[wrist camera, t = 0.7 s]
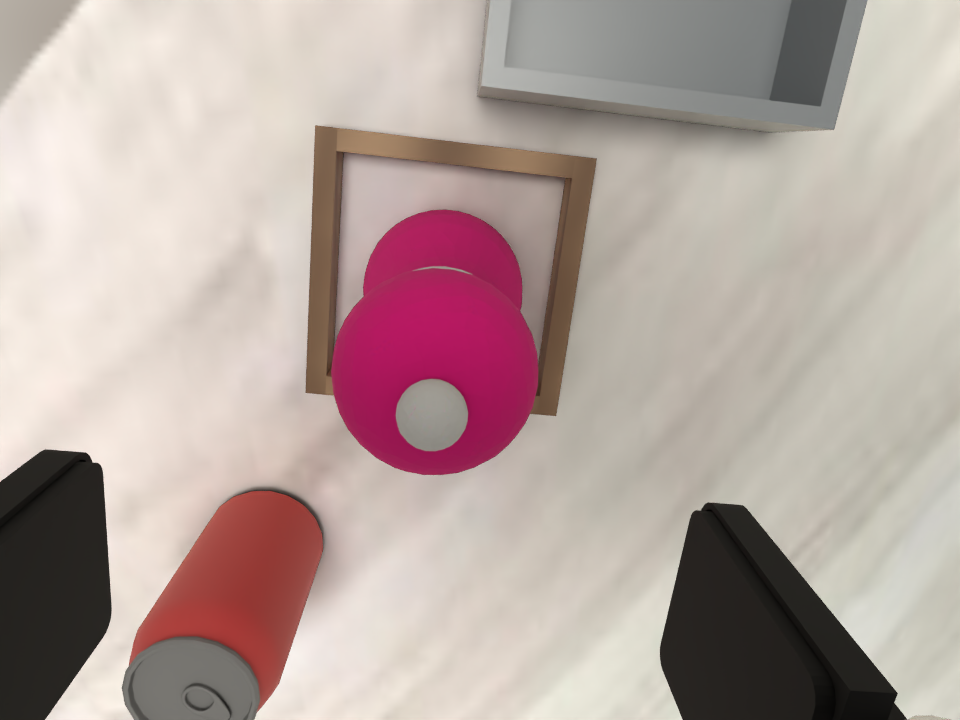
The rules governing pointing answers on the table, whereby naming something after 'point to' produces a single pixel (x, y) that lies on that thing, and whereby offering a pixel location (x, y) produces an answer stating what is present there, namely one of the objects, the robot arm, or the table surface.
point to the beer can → (227, 614)
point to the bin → (676, 58)
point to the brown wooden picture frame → (353, 141)
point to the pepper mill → (437, 347)
